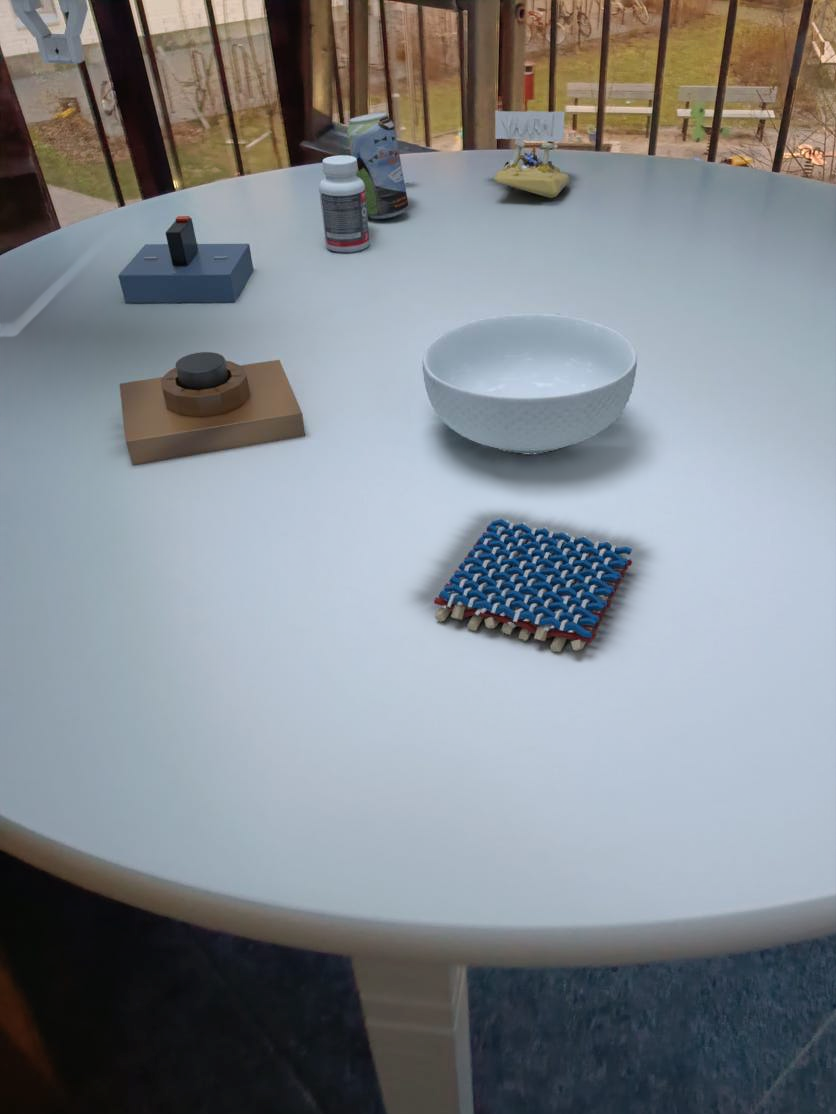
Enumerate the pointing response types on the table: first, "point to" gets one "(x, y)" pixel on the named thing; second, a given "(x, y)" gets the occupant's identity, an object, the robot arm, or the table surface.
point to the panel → (187, 275)
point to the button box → (209, 413)
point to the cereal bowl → (529, 380)
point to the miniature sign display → (524, 168)
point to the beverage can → (378, 164)
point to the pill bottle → (343, 205)
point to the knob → (182, 241)
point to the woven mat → (535, 583)
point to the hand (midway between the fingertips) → (64, 61)
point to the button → (202, 371)
